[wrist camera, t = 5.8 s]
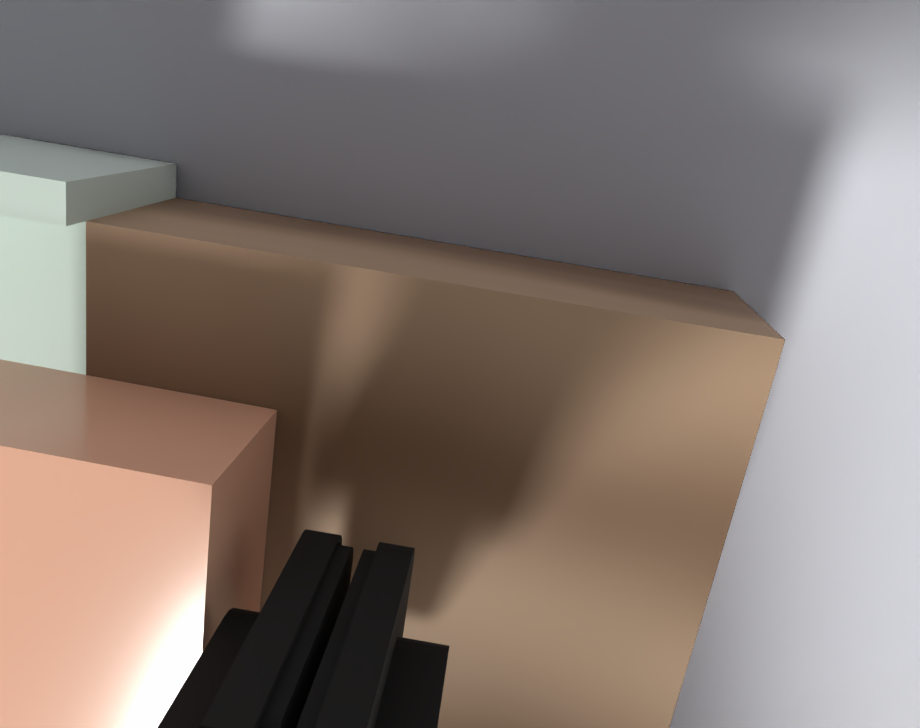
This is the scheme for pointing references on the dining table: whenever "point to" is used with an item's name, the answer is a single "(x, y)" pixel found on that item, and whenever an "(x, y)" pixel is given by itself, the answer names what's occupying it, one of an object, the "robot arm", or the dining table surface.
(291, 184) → the dining table surface
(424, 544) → the board
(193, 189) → the dining table surface
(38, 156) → the tray
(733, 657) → the dining table surface
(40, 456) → the tile
